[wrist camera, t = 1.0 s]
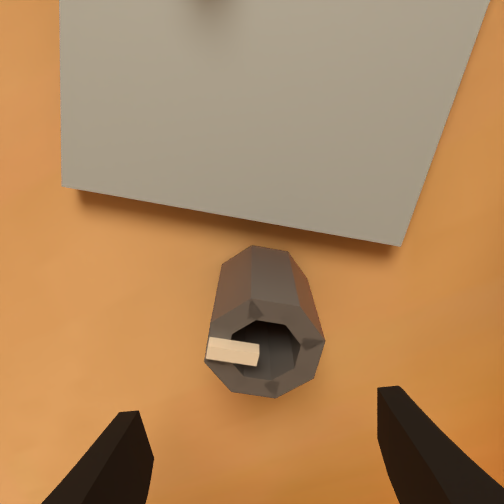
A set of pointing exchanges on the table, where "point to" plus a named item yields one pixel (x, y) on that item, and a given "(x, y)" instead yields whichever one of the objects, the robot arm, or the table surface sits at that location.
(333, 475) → the table surface
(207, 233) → the table surface
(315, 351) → the knob
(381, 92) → the grey square plate
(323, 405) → the table surface
